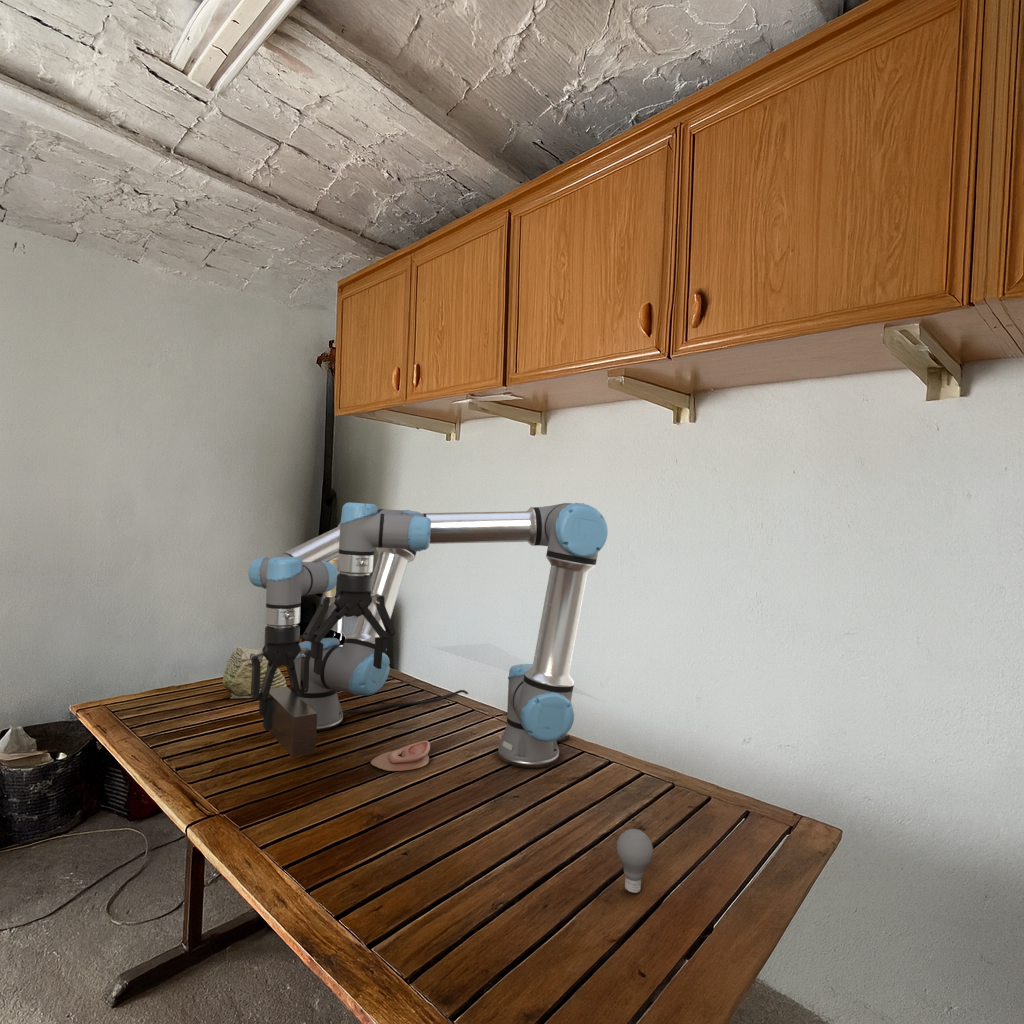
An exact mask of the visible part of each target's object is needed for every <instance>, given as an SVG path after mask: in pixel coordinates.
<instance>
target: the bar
mask: <svg viewBox="0 0 1024 1024" xmlns="http://www.w3.org/2000/svg"><path fill="white" fill-rule="evenodd" d="M268 699H269V700H270V701H271V708H270V730H267V731H268V732H269V733H270V734H271V735H272V736H273V738H274V739H275V740H276V741H277V742H278V743H279V744H280V746H282V748H283V749H284V750H285V751H286V753H288V754H289V755H290V757H291V758H293V759H294V758H297V757H301V756H306V755H311V754H316V753H317V732H316V731H317V712H315V711H314V710H313V709H312V708H311V707H310V706H309V705H307V704H306V703H305V702H304V701H303V700H302V699H300V698H299V697H298V696H297V695H296V694H295V693H294V692H292V689H290V687H288V686H285V687H277V688H270V692H269V695H268Z"/></svg>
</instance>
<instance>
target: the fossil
mask: <svg viewBox="0 0 1024 1024" xmlns="http://www.w3.org/2000/svg"><path fill="white" fill-rule="evenodd" d="M262 649H263V648H260V647H258V648H251V647H247V646H246V647H245V646H238V647H237V648H236V649H235V650H233V651H232V653H231V656H230V657H229V659H228V660H227V663H226V666H225V668H224V671H223V675H222V676H223V677H222V685H223V687H224V688H225V690H226V691H228V693H229V698H230V699H250V698H253V697H252V696H251V681H252V662H251V659H250V655H251V654H257V653H259V652H262ZM267 664H268V660H267V659H266V658H265V657H263V658H262V662H261V663H260V666H261V670H260V691H261V688H262V684H263V681H264V677H265V674H266V670H267ZM285 686H287V680H286V678H285V676H284V674H283V673H282V672H281V669H279V667H277V670H276V672H275V674H274V678H273V681H272V685H271V688H277V687H285ZM287 687H288V686H287Z"/></svg>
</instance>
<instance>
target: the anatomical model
mask: <svg viewBox="0 0 1024 1024" xmlns="http://www.w3.org/2000/svg"><path fill="white" fill-rule="evenodd" d="M430 751H431V743H430V742H429V741H428V740H423V741H417V742H415V743H412V744H408V745H405V746H403V747H399V748H398V749H394V750H391V751H387V752H384V753H381V754H380V755H377V756H376V757H374V758H373V759H371V761H370V764H371V765H372V766H373V767H375V768H378V769H380V770H383V771H387V772H400V771H401V772H402V771H411V770H415V769H421V768H423V767H425V766H427V765H428V764H429V761H430V757H429V755H428V754H429V753H430Z"/></svg>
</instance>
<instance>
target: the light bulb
mask: <svg viewBox="0 0 1024 1024" xmlns="http://www.w3.org/2000/svg"><path fill="white" fill-rule="evenodd" d="M615 849H616V854H617V857H618V859H619V861H620V863H621V865H622V867H623V873H624V874H623V875H624V876H625V878H624V888H625V890H627V891H628V892H630V893H634V894H635V893H639V892H640V891H641V889H642V887H641V886H642V879H643V877H644V875H645V871H646V868H647V867H648V866H649V864H650V863H651V861H652V859H653V855H654V847H653V843H652V841H651V838H649V836H648V835H647V834H646V833H645V832H643V831H642V830H641V829H636V828H629V829H627V830H625V831H623V832H622V833H621V834H620V835H619V837H618V839H617V841H616V847H615Z"/></svg>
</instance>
